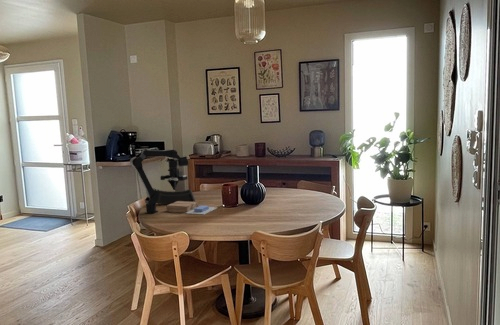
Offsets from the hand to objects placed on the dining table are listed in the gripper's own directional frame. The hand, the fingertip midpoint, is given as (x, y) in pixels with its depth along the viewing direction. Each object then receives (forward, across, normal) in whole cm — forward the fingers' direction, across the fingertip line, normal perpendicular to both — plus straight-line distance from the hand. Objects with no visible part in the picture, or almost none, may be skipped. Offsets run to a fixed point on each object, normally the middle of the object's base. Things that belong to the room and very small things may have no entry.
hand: (174, 190), depth 278 cm
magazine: (+13, +10, -12) cm, 21 cm away
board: (+13, -7, +2) cm, 15 cm away
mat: (+13, -22, +2) cm, 25 cm away
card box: (+10, -22, +2) cm, 24 cm away
